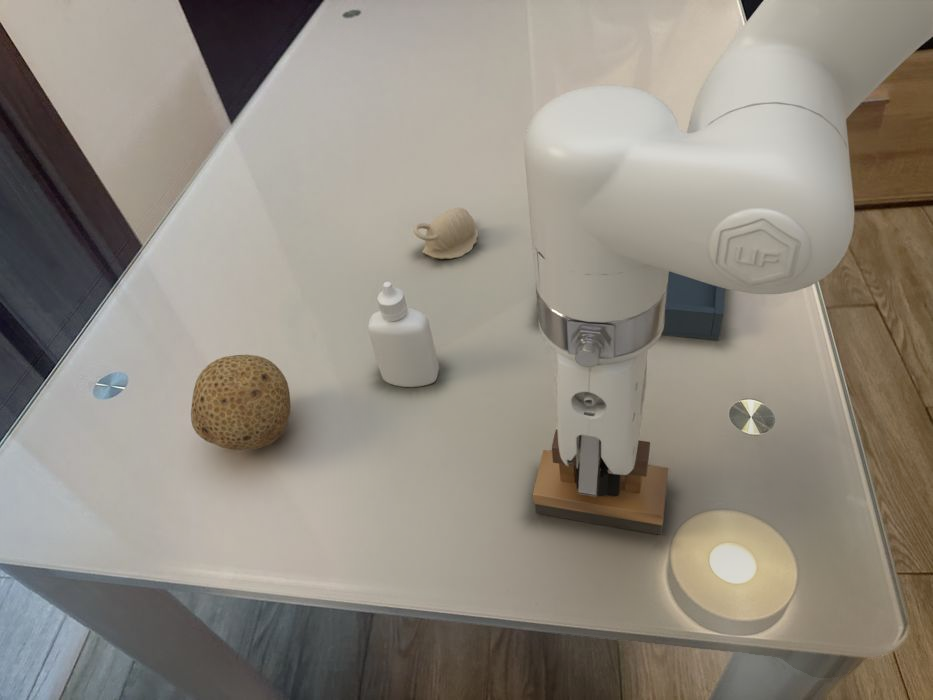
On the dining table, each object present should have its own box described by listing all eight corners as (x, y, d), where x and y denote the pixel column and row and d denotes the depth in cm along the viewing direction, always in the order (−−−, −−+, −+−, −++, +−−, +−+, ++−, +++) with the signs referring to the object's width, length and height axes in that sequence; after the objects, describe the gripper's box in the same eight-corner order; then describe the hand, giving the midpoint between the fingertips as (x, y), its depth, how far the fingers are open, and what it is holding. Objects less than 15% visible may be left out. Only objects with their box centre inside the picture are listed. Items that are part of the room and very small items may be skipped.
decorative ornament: (487, 243, 84) (482, 205, 80) (427, 273, 82) (419, 236, 78) (469, 228, 87) (464, 190, 83) (410, 256, 84) (402, 219, 80)
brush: (665, 489, 58) (673, 430, 52) (661, 537, 55) (668, 479, 50) (545, 471, 61) (539, 412, 55) (534, 515, 58) (527, 458, 52)
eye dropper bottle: (404, 351, 73) (380, 260, 65) (446, 371, 71) (427, 280, 62) (376, 378, 71) (347, 288, 63) (419, 400, 68) (394, 310, 60)
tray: (725, 209, 83) (730, 183, 80) (718, 340, 69) (723, 313, 66) (575, 201, 88) (574, 176, 85) (540, 322, 74) (538, 297, 71)
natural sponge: (212, 488, 64) (165, 420, 57) (214, 415, 70) (172, 345, 63) (311, 462, 65) (276, 391, 58) (304, 391, 71) (272, 320, 64)
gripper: (652, 413, 36) (638, 579, 49) (676, 225, 46) (659, 404, 59) (508, 395, 38) (532, 559, 51) (562, 219, 48) (570, 394, 61)
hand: (600, 475), depth 55 cm, fingers closed on brush, 2 cm apart
